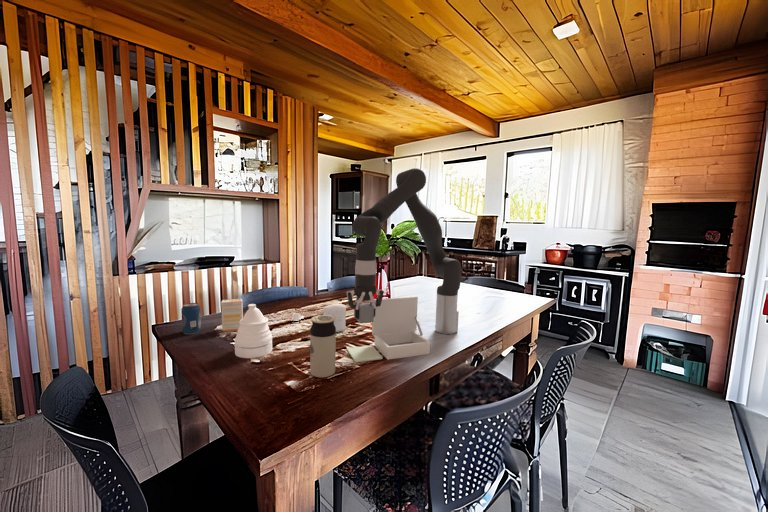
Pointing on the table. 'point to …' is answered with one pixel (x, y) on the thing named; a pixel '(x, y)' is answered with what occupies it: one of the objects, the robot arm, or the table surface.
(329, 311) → the photo printer
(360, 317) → the block
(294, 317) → the teacup and saucer
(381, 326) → the case
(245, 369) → the table surface
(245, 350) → the honey pot
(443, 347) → the table surface
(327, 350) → the travel mug
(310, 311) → the table surface
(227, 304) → the supplement box
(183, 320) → the soda can
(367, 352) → the mat
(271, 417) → the table surface
